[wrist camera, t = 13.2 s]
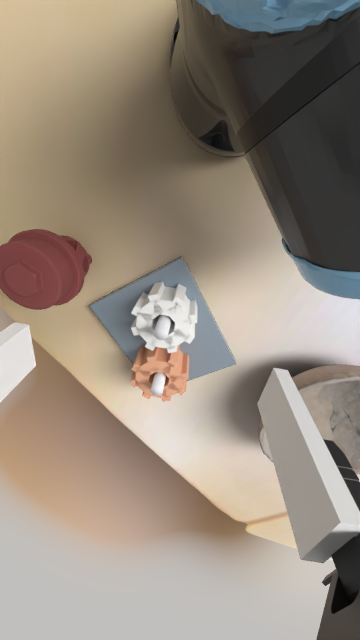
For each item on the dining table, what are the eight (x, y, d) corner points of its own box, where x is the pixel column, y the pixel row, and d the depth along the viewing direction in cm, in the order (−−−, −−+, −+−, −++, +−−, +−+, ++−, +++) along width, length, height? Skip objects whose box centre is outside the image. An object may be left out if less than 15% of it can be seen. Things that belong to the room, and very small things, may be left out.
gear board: (182, 256, 36) (176, 273, 28) (234, 359, 45) (243, 396, 36) (92, 302, 41) (65, 329, 33) (155, 387, 50) (146, 425, 41)
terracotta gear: (140, 334, 42) (132, 352, 37) (192, 343, 42) (192, 362, 37) (136, 374, 46) (129, 395, 42) (184, 383, 46) (182, 404, 42)
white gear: (172, 269, 36) (167, 281, 31) (208, 315, 39) (209, 332, 34) (127, 303, 39) (117, 318, 34) (164, 343, 42) (159, 362, 37)
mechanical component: (113, 252, 37) (85, 297, 41) (56, 209, 34) (32, 261, 38) (77, 275, 26) (43, 333, 30) (-10, 214, 23) (-34, 286, 28)
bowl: (408, 405, 47) (456, 453, 38) (285, 448, 56) (301, 495, 47) (362, 310, 38) (410, 344, 29) (225, 379, 47) (231, 421, 38)
